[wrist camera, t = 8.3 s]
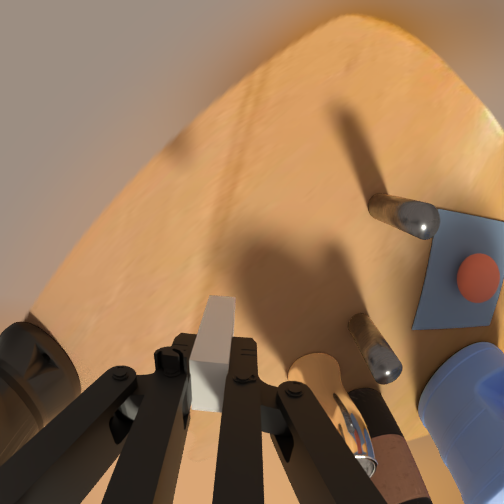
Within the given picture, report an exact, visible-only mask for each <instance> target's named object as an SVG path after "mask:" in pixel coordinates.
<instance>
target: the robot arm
mask: <svg viewBox="0 0 504 504" xmlns="http://www.w3.org/2000/svg"><path fill="white" fill-rule="evenodd" d="M235 301H236V297H227V296H214V295H210V296H209V299H208V302H207V305H206V308H205V311H204V314H203V318H202V321H201V324H200V327H199V330H198V333H197V334H187V333H181V334H179V335H178V336H177V337H175V339H174V341H173V344H172V346H171V347H163V348H160V349H158V350H156V351H155V353H154V359H155V368H156V370H155V372H154V373H152V374H147V375H136V372H135V371H134V369H132V368H130V367H128V366H115V367H112V368H110V369H109V370H107V371H106V372H105V373H104V374H103V375H102V376H100V377H99V378H98V379H97V380H96V381H95V382H94V383H93V384H91V385H90V386H89V387H88V388H87V389H86V390H85V391H84V392H83V393H81V385H80V381H79V377H78V375H77V372H76V370H75V368H74V366H73V364H72V363H71V361H70V359H69V358H68V356H67V355H66V354H65V352H64V351H63V350H62V349H61V347H60V346H59V345H58V344H57V343H56V342H55V341H54V340H53V339H52V338H51V337H50V336H49V335H48V334H46V333H45V332H44V331H42V330H41V329H39V328H38V327H36V326H34V325H32V324H29V323H26V322H16V323H14V324H12V325H10V326H9V327H8V328H6V329H5V330H4V331H3V332H2V333H1V335H0V504H80V503H81V502H82V500H83V499H84V498H85V497H86V496H87V495H88V493H89V492H90V491H91V489H92V488H93V487H94V486H95V485H96V483H97V482H98V481H99V480H100V478H101V477H102V476H103V475H104V473H105V472H106V471H107V470H108V468H109V467H110V466H111V465H112V463H113V462H114V461H115V460H116V458H117V457H118V455H119V454H120V456H119V459H118V461H117V464H116V466H115V469H114V472H113V474H112V476H111V479H110V482H109V484H108V487H107V490H106V492H105V495H104V498H103V500H102V503H101V504H173V499H174V493H175V488H176V483H177V478H178V473H179V469H180V464H181V459H182V454H183V450H184V445H185V440H186V435H187V431H188V426H189V421H190V406H191V405H192V410H201V411H211V412H222V416H221V425H220V434H219V444H218V453H217V462H216V472H215V482H214V491H213V501H212V504H264V485H263V460H262V432H266V433H270V436H271V439H272V442H273V444H274V446H275V449H276V451H277V453H278V456H279V458H280V460H281V463H282V465H283V467H284V469H285V471H286V474H287V476H288V479H289V481H290V483H291V485H292V487H293V490H294V492H295V494H296V496H297V498H298V501H299V503H300V504H388V503H387V502H386V501H385V499H384V498H383V496H382V495H381V493H380V492H379V490H378V489H377V488H376V486H375V485H374V483H373V482H372V480H371V479H370V477H369V476H368V475H367V473H366V472H365V470H364V469H363V467H362V466H361V464H360V463H359V461H358V460H357V458H356V457H355V455H354V454H353V452H352V451H351V449H350V448H349V446H348V445H347V444H346V442H345V441H344V439H343V438H342V436H341V435H340V433H339V432H338V430H337V429H336V427H335V426H334V424H333V422H332V421H331V419H330V418H329V416H328V415H327V413H326V412H325V410H324V409H323V407H322V406H321V404H320V403H319V401H318V400H317V398H316V397H315V395H314V393H313V392H312V390H311V389H310V388H309V387H308V386H307V385H306V384H304V383H302V382H298V381H287V382H283V383H282V384H280V385H279V387H275V386H271V385H268V384H266V383H264V382H263V381H262V380H260V378H259V377H258V366H257V343H256V342H255V341H254V340H253V338H244V337H234V319H235ZM45 425H46V426H45ZM44 426H45V427H44Z"/></svg>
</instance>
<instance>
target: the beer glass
mask: <svg viewBox="0 0 504 504" xmlns="http://www.w3.org/2000/svg"><path fill="white" fill-rule="evenodd" d="M288 381H298V382H302V383H304V384H306V385H307V386H308V387H309V388H310V389H311V390H312V392H313V393H314V395H315V397H316V398H317V400H318V401H319V403H320V404H321V406H322V407H323V409H324V410H325V412H326V413H327V415H328V416H329V418H330V419H331V421H332V422H333V424H334V426H335V427H336V429H337V430H338V432H339V433H340V435H341V436H342V438H343V439H344V441H345V442H346V444H347V445H348V446H349V448H350V449H351V451H352V452H353V454H354V455H355V457H356V458H357V460H358V461H359V463H360V464H361V466H362V467H363V469H364V470H365V472H366V473H367V475H368V476H369V477H370V479H371V478H372V477H373V476H374V475H375V474H376V472H377V470H378V462H377V460H376V456H375V451H374V447H373V443H372V439H371V436H370V433H369V430H368V427H367V425H366V423H365V420H364V418H363V416H362V414H361V413H360V411H359V409H358V408H357V406H356V405H355V403H354V402H353V400H352V399H351V398H350V396H349V395H348V393H347V392H346V390H345V389H344V387H343V385H342V382H341V373H340V367H339V364H338V362H337V361H336V359H335V358H333V357H332V356H330V355H328V354H325V353H311V354H307V355H305V356H303V357H301V358H299V359H298V360H296V361H295V362H294V363H293V364H292V366H291V367H290V369H289V372H288Z"/></svg>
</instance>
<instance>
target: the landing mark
mask: <svg viewBox="0 0 504 504" xmlns="http://www.w3.org/2000/svg"><path fill="white" fill-rule="evenodd" d="M437 210H438V212H439V215H440V226H439V229H438V231H437V233H436V234H435V235H434V236H433V240H432V246H431V252H430V257H429V262H428V267H427V271H426V276H425V280H424V285H423V289H422V293H421V297H420V301H419V304H418V308H417V312H416V315H415V319H414V322H413V326H412V330H426V329H447V328H463V327H477V326H488V325H490V322H491V319H492V316H493V313H494V310H495V307H496V304H497V301H498V297H499V294H500V290H501V287H502V283H503V279H504V222H501V221H497V220H492V219H488V218H483V217H478V216H473V215H468V214H463V213H458V212H453V211H448V210H442V209H437ZM477 253H481V254H486V255H488V256H489V257H491V258H492V259H493V260H494V261H495V263H496V264H497V266H498V269H499V273H500V282H499V286H498V289H497V291H496V292H495V294H494V295H493V296H492V297H491V298H490V299H489V300H487V301H485V302H482V303H473V302H470V301H468V300H467V299H465V298H464V297H463V296H462V294H461V293H460V291H459V288H458V285H457V273H458V270H459V267H460V265H461V264H462V262H463V261H464V260H465V259H466V258H467V257H469V256H470V255H473V254H477Z"/></svg>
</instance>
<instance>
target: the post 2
mask: <svg viewBox="0 0 504 504" xmlns="http://www.w3.org/2000/svg"><path fill="white" fill-rule="evenodd" d="M368 210H369V213H370V215H371V216H372V217H373V218H375V219H377V220H379V221H382V222H384V223H386V224H389V225H391V226H393V227H395V228H398V229H400V230H402V231H404V232H407V233H409V234H411V235H413V236H415V237H418V238H420V239H423V240H426V239H430V238H432V237H433V236H434V235H435V234H436V233H437V231H438V229H439V226H440V215H439V212H438V210H437V208H436V207H435V206H433V205H432V204H429V203H424V202H420V201H415V200H411V199H406V198H401V197H397V196H392V195H387V194H382V193H379V194H375V195H374V196H372V198H371V199H370V201H369V204H368Z"/></svg>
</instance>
